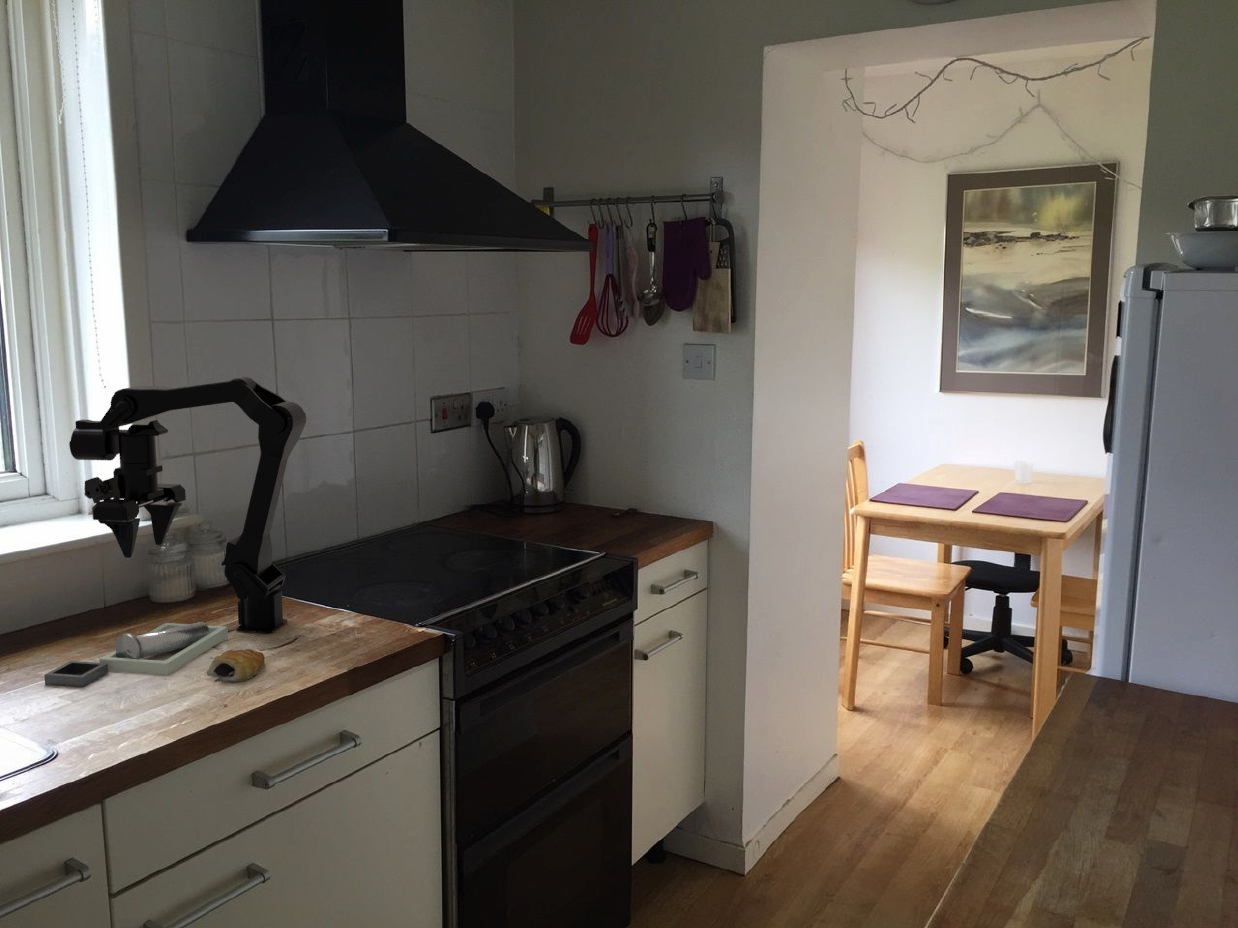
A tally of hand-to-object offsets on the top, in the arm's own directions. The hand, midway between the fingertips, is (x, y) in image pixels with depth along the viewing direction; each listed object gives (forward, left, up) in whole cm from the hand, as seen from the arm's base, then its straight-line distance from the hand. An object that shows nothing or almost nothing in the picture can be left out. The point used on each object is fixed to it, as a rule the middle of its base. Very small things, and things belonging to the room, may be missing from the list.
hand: (143, 550), depth 187 cm
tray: (-12, +15, -13) cm, 23 cm away
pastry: (-27, +20, -14) cm, 36 cm away
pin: (-15, +9, -11) cm, 21 cm away
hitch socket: (-6, +28, -13) cm, 31 cm away
